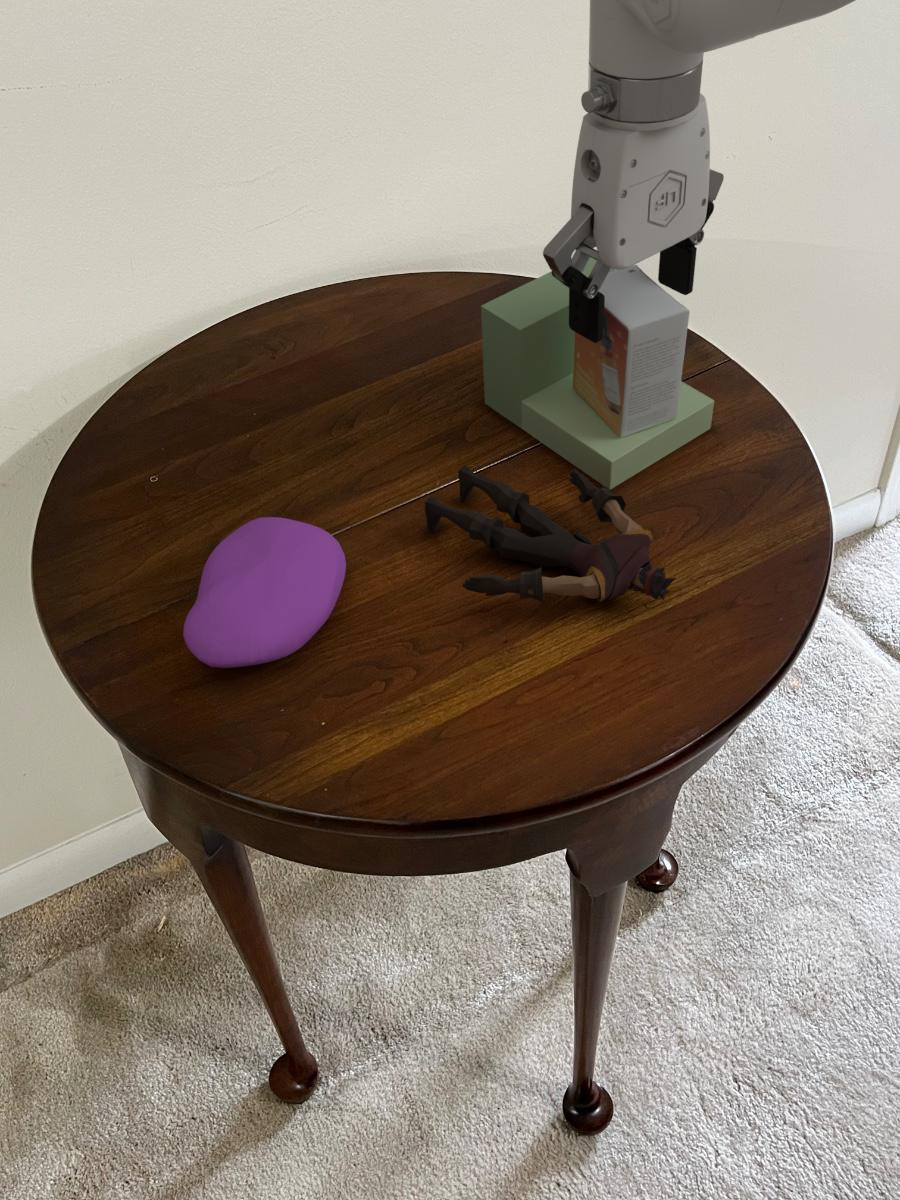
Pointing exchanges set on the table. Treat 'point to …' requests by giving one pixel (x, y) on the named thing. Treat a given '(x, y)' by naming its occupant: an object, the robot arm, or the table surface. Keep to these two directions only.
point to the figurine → (555, 544)
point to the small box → (633, 354)
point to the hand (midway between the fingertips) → (631, 310)
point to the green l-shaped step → (567, 387)
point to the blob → (264, 593)
